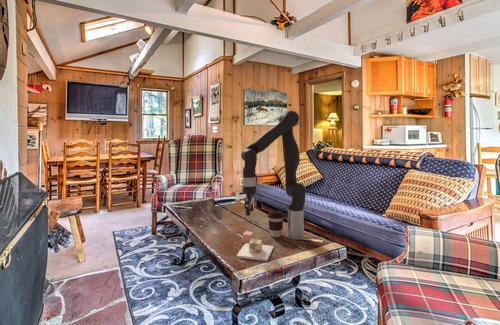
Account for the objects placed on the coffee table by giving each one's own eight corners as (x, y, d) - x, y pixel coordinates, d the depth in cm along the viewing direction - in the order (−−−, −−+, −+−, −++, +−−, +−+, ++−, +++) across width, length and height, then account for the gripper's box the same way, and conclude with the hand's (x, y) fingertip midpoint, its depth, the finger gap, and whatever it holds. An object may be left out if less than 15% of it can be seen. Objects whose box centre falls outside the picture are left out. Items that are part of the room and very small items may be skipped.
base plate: (273, 248, 149) (273, 245, 149) (267, 261, 134) (267, 258, 134) (245, 245, 154) (245, 243, 153) (236, 257, 138) (236, 255, 138)
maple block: (261, 248, 146) (261, 239, 145) (259, 253, 140) (259, 243, 140) (251, 247, 147) (251, 238, 146) (249, 252, 142) (249, 242, 141)
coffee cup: (275, 239, 161) (275, 214, 160) (264, 235, 169) (264, 211, 167) (287, 235, 167) (287, 211, 166) (275, 231, 175) (275, 208, 173)
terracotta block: (253, 240, 161) (253, 231, 161) (251, 243, 156) (251, 235, 156) (245, 239, 162) (245, 231, 162) (243, 242, 158) (242, 234, 157)
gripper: (253, 187, 144) (253, 217, 146) (258, 182, 158) (258, 210, 159) (239, 187, 146) (240, 216, 147) (246, 182, 159) (246, 209, 161)
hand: (249, 213), depth 153 cm, fingers open, 8 cm apart
